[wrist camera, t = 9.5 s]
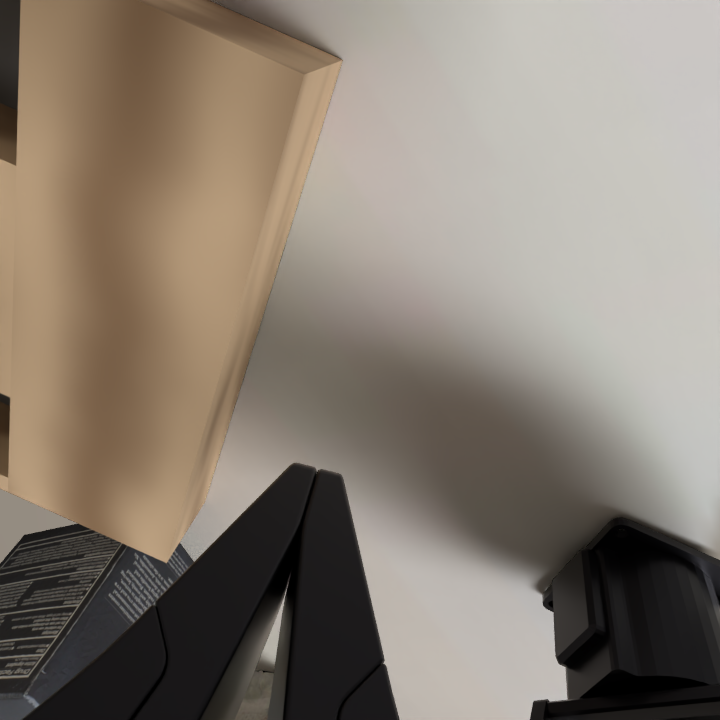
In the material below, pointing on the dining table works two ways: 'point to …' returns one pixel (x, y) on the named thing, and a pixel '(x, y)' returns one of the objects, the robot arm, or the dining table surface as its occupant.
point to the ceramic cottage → (256, 697)
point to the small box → (69, 607)
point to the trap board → (139, 245)
